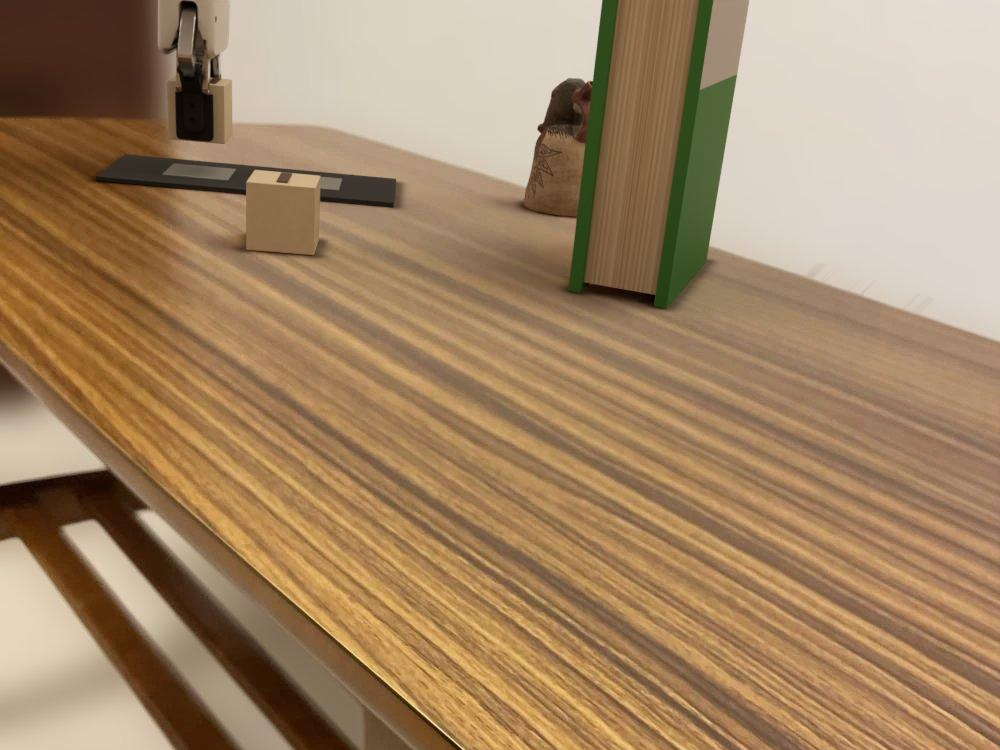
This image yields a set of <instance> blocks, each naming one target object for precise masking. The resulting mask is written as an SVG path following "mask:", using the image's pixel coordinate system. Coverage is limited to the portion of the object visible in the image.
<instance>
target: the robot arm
mask: <svg viewBox="0 0 1000 750" xmlns="http://www.w3.org/2000/svg"><path fill="white" fill-rule="evenodd" d="M230 3H231V2H230V0H157V49H158V50H159V51H160V52H161V53H162V54H163V55H166V56H167V55H170V54H172V53H175V52H176V53H175V54H176V56H175V59H176V61H175V75H176V91H175V107H176V136H177V137H178V138H179V139H184V140H196V141H207V142H210V141H212V140H213V138H214V116H213V94H209V92H210V77H211V78H222V65H221V64H222V63H221V53H223V52H224V51H226V50H227V48H228V46H229V39H230V10H231V9H230ZM184 140H183V141H184Z"/></svg>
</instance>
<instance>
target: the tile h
mask: <svg viewBox="0 0 1000 750" xmlns="http://www.w3.org/2000/svg"><path fill="white" fill-rule="evenodd" d="M165 81H166V83H165V84H166V112H167V115H166V116H167V118H166V119H167V139H168V140H174V141H175V140H176V141H185V142H195V143H206V144H207V143H208V144H218V145H225V144H227V143H228V141H229V140H230V139H231V138H232V136H233V79H229V78H222V77H221V78H211V77H210V92H209V94H213V116H214V138H213V140H212V141H210V142H207V141H196V140H184V139H179V138H178V137H177V136H176V107H175V91H176V74H174V75H173V76H172V77H170V78H168V79H167V80H165Z"/></svg>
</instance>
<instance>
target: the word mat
mask: <svg viewBox="0 0 1000 750" xmlns="http://www.w3.org/2000/svg"><path fill="white" fill-rule="evenodd" d="M254 170H263V171H274V172H285V173H296V174H307V175H318V176H321V181H320V202H329V203H341V204H342V203H343V204H355V205H364V206H377V207H386V208H387V207H390V208H394V205H395V197H396V188H397V178H393V177H381V176H371V175H370V176H368V175H360V174H359V175H358V174H350V173H349V174H348V173H336V172H327V171H316V170H304V169H292V168H282V167H272V166H260V165H248V164H237V163H236V164H235V163H228V162H227V163H225V162H217V161H215V162H214V161H205V160H204V161H203V160H195V159H183V158H172V157H171V158H170V157H162V156H161V157H160V156H151V155H150V156H149V155H139V154H126V153H125V154H124V155H122V156H121V157H120V158H118V159H117V160H115V161H114V162H113V163H111V164H110V165H109V166H108V167H106V168H105V169H104V170H102V171H101V172H100V173H98V174H97V175H96V176H95V181H96V182H103V183H116V184H117V183H118V184H127V185H139V186H150V187H161V188H172V189H183V190H184V189H185V190H196V191H206V192H219V193H229V194H239V195H240V194H242V195H246V182H247V180H248V179H249V177H250V176H251V174H252V173H253V172H254Z"/></svg>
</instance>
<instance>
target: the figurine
mask: <svg viewBox="0 0 1000 750" xmlns="http://www.w3.org/2000/svg"><path fill="white" fill-rule="evenodd" d="M592 84H593V80H588V81H587V82H585V80H584V79H582V78H579V77H578V78H576V77H574V78H573V77H568V78H566V79H565V80H563V81H562V82H560V83H559V84H558V85H557V86H555V87H554V88H553V89H552V90H551V95H550V100H549V103H548V105H547V109H546V112H545V116H544V119H543V122H542V123H539V124H538V126H537V131H538V133H540V134H539V136H538V137H537V139H536V142H535V145H534V150H533V158H532V159H533V160H532V163H531V169H530V174H529V178H528V181H527V184H526V187H525V192H524V198H523V202H524V207H526V208H527V209H529V210H532V211H534V212H538V213H543V214H548V215H553V216H559V217H574V218H577V212H578V204H579V195H580V187H581V178H582V169H583V161H584V152H585V144H586V135H587V127H588V118H589V110H590V101H591V93H592Z"/></svg>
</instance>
